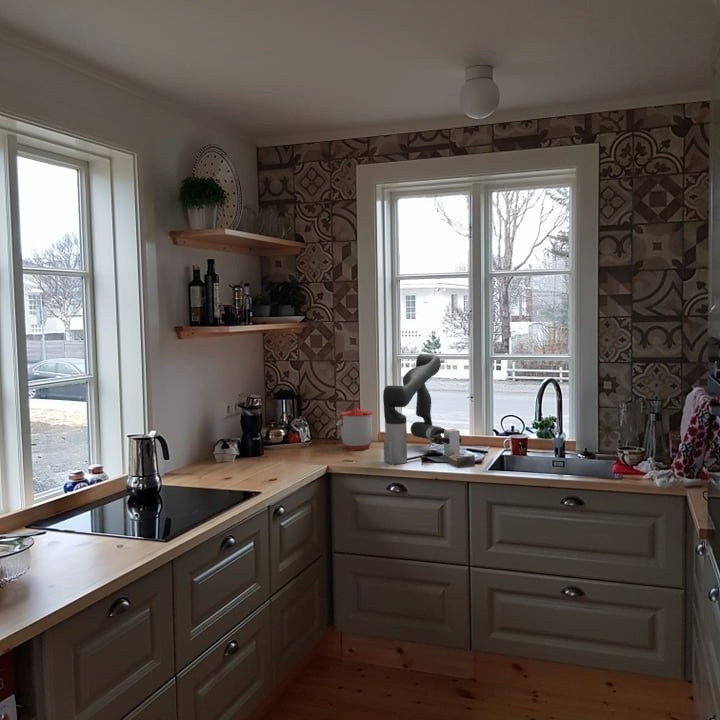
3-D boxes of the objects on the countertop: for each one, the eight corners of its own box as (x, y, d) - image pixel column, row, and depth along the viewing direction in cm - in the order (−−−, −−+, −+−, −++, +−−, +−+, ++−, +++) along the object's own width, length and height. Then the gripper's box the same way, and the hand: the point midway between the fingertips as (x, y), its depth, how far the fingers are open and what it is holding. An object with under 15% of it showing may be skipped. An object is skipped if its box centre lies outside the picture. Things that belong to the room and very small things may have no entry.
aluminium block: (449, 456, 313) (449, 431, 312) (444, 454, 317) (444, 429, 317) (459, 455, 314) (459, 430, 314) (454, 453, 319) (454, 428, 318)
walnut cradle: (457, 467, 299) (457, 457, 298) (447, 463, 307) (447, 453, 307) (474, 465, 301) (474, 456, 301) (464, 461, 310) (464, 452, 310)
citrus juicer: (334, 446, 349) (333, 405, 347) (369, 444, 352) (368, 403, 351) (339, 452, 334) (338, 410, 332) (376, 450, 337) (375, 408, 335)
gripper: (422, 427, 326) (439, 433, 310) (451, 425, 331) (469, 431, 315) (423, 444, 327) (439, 450, 311) (451, 441, 332) (469, 448, 316)
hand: (454, 441), depth 313 cm, fingers closed on aluminium block, 5 cm apart
